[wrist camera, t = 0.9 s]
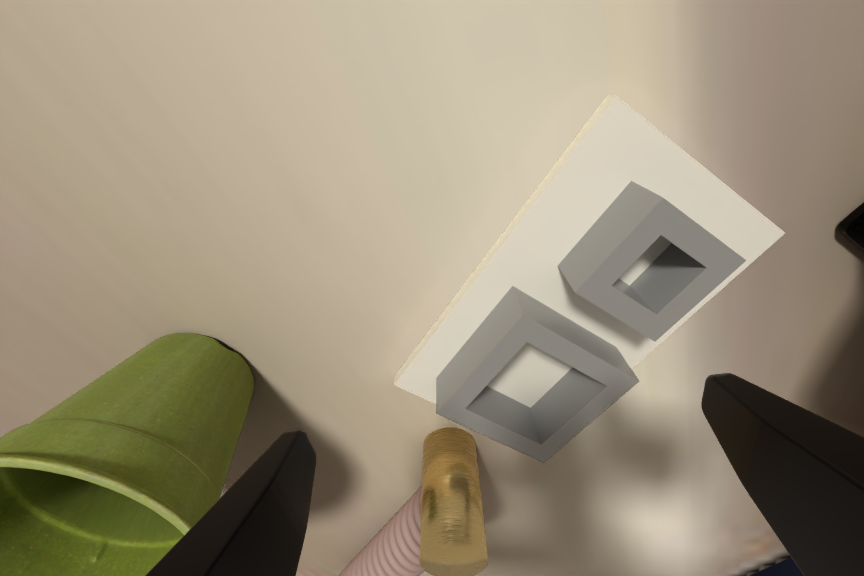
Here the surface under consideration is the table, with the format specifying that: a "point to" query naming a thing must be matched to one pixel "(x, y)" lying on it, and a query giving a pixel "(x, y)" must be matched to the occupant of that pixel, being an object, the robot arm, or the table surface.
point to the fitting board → (584, 286)
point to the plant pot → (123, 462)
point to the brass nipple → (451, 506)
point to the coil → (393, 546)
